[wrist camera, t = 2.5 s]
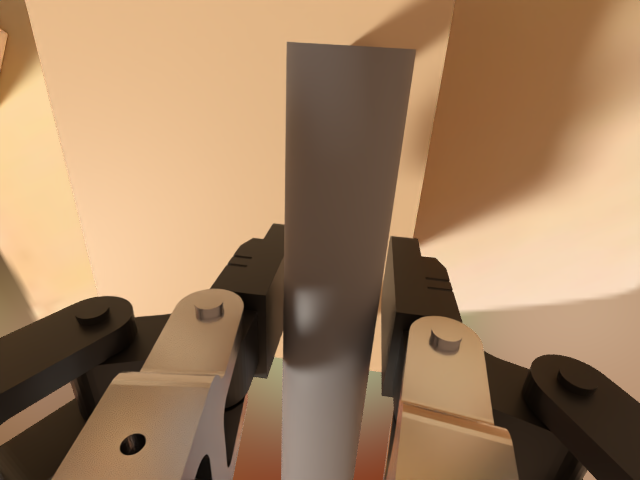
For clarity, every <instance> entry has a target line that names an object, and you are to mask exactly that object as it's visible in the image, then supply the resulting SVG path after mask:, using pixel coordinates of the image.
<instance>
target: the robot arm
mask: <svg viewBox="0 0 640 480" xmlns="http://www.w3.org/2000/svg"><path fill="white" fill-rule="evenodd" d="M449 281H450V280H449V276H448V273H447V270H446V268H445V267H444V266H443V265H442V264H441V263H440V262H439V261H438V260H437V259H436V258H431V257H422V256H421V253H420V248H419V243H418V239H416V238H407V237H397V236H391V237H390V241H389V247H388V253H387V260H386V267H385V274H384V280H383V288H382V298H381V363H382V396H388V397H393V398H394V399H393V401H394V411H393V416H392V421H391V427H390V434H389V441H388V448H387V455H386V463H385V470H384V477H383V480H583V477H584V475H585V473H586V472H587V470H588V471H589V472H590V473H591V474H592V475H593V476H594V477H595V478H596V479H597V480H640V403H639V402H638V401H636V400H635V399H634V398H632V397H631V396H630V395H629V394H628V393H626V392H625V391H624V390H622V389H621V388H620V387H619V386H617V385H616V384H615V383H614V382H612V381H611V380H610V379H608V378H607V377H606V376H605V375H604V374H602V373H601V372H599V371H598V370H596V369H595V368H593V367H591V366H590V365H588V364H586V363H583V362H581V361H579V360H576V359H573V358H570V357H566V356H562V355H543V356H540V357H538V358H536V359H535V360H534V361H533V362H532V365H531V367H530V369H527V368H524V367H521V366H518V365H516V364H513V363H510V362H507V361H504V360H501V359H499V358H496V357H494V356H492V355H490V354H488V353H486V352H485V351H484V349H483V344H482V341H481V339H480V338H479V336H478V335H477V334H476V333H475V332H474V331H473V330H472V329H471V328H469V327H468V326H466V325H465V324H463V323H462V319H461V316H460V313H459V310H458V306H457V303H456V300H455V296H454V293H453V292H452V286H451V283H450V282H449ZM283 306H284V224H275V223H273V224H272V226H271V227H270V229H269V231H268V232H267V234H266V236H265V237H264V239H260V238H252V239H250V240H249V241H247V242H245V243H243V244H242V245H240V246H239V248H238V249H237V251H236V252H235V253H234V255H233V257H232V258H231V259H230V261H229V262H228V265H226V266H225V268H224V269H223V271H222V272H221V273H220V275H219V276H218V278H217V279H216V281H215V282H214V283H213V285H212V286H211V288H210V289H206V290H200V291H197V292H194V293H192V294H189V295H188V296H186V297H184V298H183V299H181V300H180V301H179V302H178V304H177V305H176V306H175V308H174V310H173V312H172V313H171V314H164V315H153V316H141V317H135V316H134V311H133V307H132V304H131V303H130V302H129V301H128V300H126V299H124V298H121V297H116V296H100V297H94V298H89V299H86V300H83V301H80V302H78V303H75V304H73V305H71V306H69V307H66V308H64V309H62V310H60V311H58V312H56V313H53V314H51V315H49V316H47V317H45V318H42V319H40V320H38V321H36V322H34V323H32V324H30V325H27V326H25V327H23V328H21V329H19V330H16V331H14V332H12V333H10V334H8V335H6V336H3V337H1V338H0V425H1V424H2V423H3V422H5V421H6V420H8V419H9V418H11V417H13V416H14V415H16V414H17V413H19V412H21V411H22V410H24V409H26V408H27V407H29V406H31V405H32V404H34V403H36V402H37V401H39V400H41V399H42V398H44V397H46V396H47V395H49V394H51V393H52V392H54V391H55V390H57V389H59V388H61V387H62V386H64V385H66V384H67V383H69V382H70V383H71V385H72V388H73V392H74V395H75V399H73V400H72V401H70V402H69V403H67V404H66V405H64V406H62V407H61V408H59V409H58V410H56V411H55V412H53V413H51V414H50V415H48V416H47V417H45V418H44V419H42V420H41V421H39V422H37V423H36V424H34V425H33V426H31V427H30V428H28V429H26V430H25V431H24V432H22V433H20V434H19V435H17V436H15V437H14V438H12V439H11V440H10V441H8V442H6V443H4V444H3V445H1V446H0V480H232V479H233V474H234V469H235V464H236V459H237V454H238V449H239V444H240V438H241V433H242V429H243V424H244V419H245V413H246V408H247V403H248V390H249V387H250V385H251V382H252V379H253V377H259V378H267V377H268V374H269V371H270V368H271V365H272V362H273V359H274V356H275V353H276V350H277V347H278V344H279V341H280V338H281V336H282V333H283Z"/></svg>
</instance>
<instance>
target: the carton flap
mask: <svg viewBox="0 0 640 480" xmlns="http://www.w3.org/2000/svg"><path fill="white" fill-rule="evenodd" d="M25 3H26V7H27V11H28V15H29V19H30V23H31V27H32V31H33V35H34V39H35V43H36V47H37V52H38V56H39V60H40V64H41V68H42V72H43V76H44V80H45V84H46V88H47V92H48V96H49V100H50V104H51V108H52V112H53V116H54V120H55V124H56V128H57V132H58V136H59V140H60V144H61V148H62V152H63V156H64V160H65V164H66V168H67V172H68V176H69V180H70V184H71V189H72V193H73V197H74V201H75V205H76V209H77V213H78V217H79V221H80V225H81V229H82V233H83V237H84V241H85V245H86V249H87V253H88V257H89V261H90V265H91V269H92V273H93V277H94V281H95V285H96V289H97V293H98V297H100V296H116V297H121V298H124V299H126V300H128V301H129V302H130V303H131V304H132V307H133V311H134V316H135V317H141V316H153V315H164V314H171V313H172V312H173V310H174V308H175V306H176V305H177V304H178V302H179V301H180V300H181V299H183V298H184V297H186V296H188V295H189V294H192V293H194V292H197V291H200V290H206V289H210V288H211V286H212V285H213V283H214V282H215V281H216V279H217V278H218V276H219V275H220V273H221V272H222V271H223V269H224V268H225V266H226V265H228V262H229V261H230V259H231V258H232V257H233V255H234V253H235V252H236V251H237V249H238V248H239V246H240V245H242V244H243V243H245V242H247V241H249V240H250V239H252V238H260V239H264V237H265V236H266V234H267V232H268V231H269V229H270V227H271V226H272V224H273V223H275V224H284V306H283V333H282V336H281V338H280V341H279V344H278V347H277V350H276V353H275V356H274V357H278V358H283V391H282V474H281V476H282V477H281V478H282V479H281V480H353V477H354V470H355V463H356V456H357V449H358V443H359V436H360V429H361V422H362V416H363V408H364V402H365V395H366V388H367V382H368V375H369V370H371V371H378V372H382V363H381V298H382V288H383V280H384V274H385V267H386V260H387V253H388V247H389V241H390V237H391V236H397V237H407V238H413V235H414V230H415V224H416V218H417V213H418V207H419V202H420V196H421V190H422V185H423V179H424V174H425V168H426V163H427V157H428V151H429V146H430V140H431V135H432V129H433V123H434V118H435V112H436V107H437V101H438V95H439V90H440V84H441V79H442V73H443V67H444V62H445V56H446V51H447V45H448V39H449V34H450V28H451V23H452V17H453V12H454V6H455V0H25Z"/></svg>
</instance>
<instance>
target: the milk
mask: <svg viewBox="0 0 640 480" xmlns="http://www.w3.org/2000/svg"><path fill="white" fill-rule="evenodd" d="M7 36H8V34H7V33H6V32H4V31H3V30H1V29H0V70H1V65H2V61H3V56H4V51H5V46H6V41H7Z"/></svg>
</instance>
